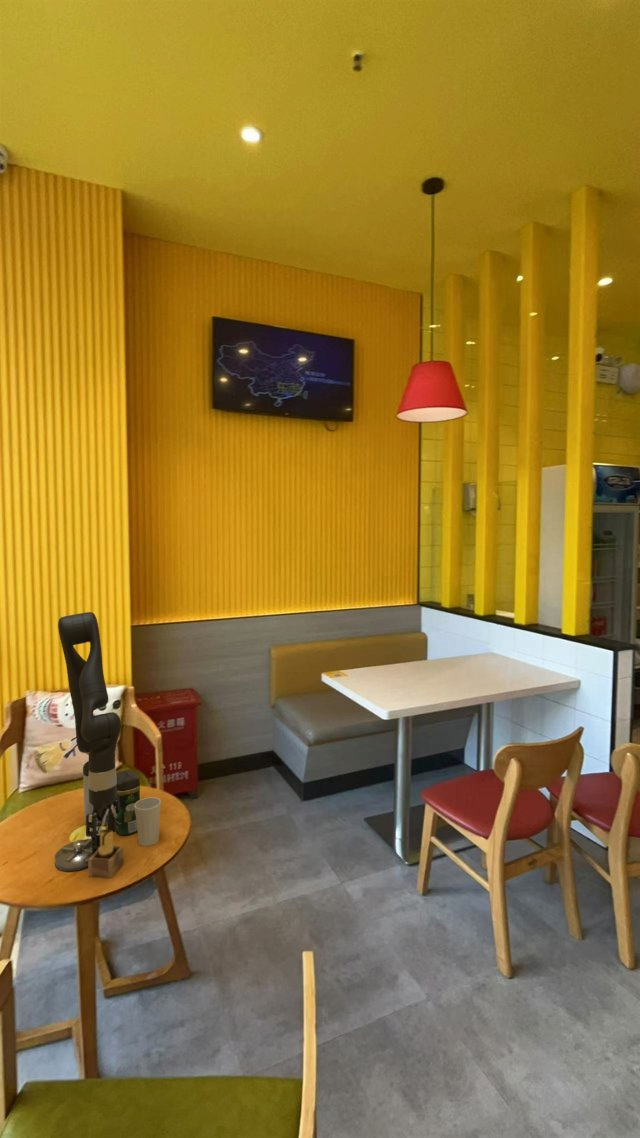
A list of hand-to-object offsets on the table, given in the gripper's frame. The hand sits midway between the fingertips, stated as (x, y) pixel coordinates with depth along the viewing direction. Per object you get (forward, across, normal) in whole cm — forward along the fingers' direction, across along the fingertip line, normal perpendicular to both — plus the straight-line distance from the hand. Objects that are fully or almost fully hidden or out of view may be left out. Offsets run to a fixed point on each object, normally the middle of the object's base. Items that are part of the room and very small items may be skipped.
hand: (104, 839), depth 153 cm
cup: (+9, -17, +6) cm, 20 cm away
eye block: (+9, 0, 0) cm, 9 cm away
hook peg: (+9, 0, 0) cm, 9 cm away
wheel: (+9, -5, -11) cm, 15 cm away
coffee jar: (+9, -22, -5) cm, 25 cm away
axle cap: (+6, -5, -11) cm, 13 cm away
